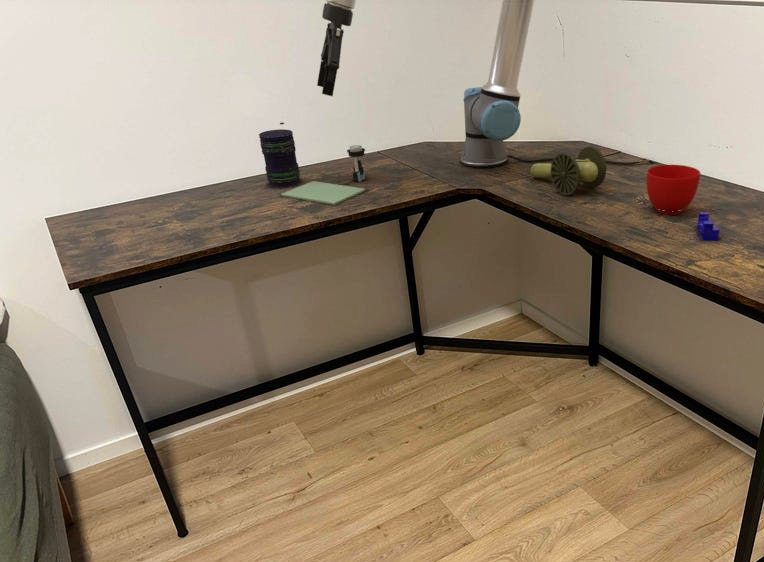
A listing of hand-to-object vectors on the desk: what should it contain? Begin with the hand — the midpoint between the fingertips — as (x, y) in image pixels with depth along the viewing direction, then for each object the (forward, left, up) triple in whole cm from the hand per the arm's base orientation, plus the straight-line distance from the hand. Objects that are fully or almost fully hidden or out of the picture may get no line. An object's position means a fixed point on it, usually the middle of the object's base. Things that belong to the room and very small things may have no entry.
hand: (324, 90), depth 184 cm
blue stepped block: (-104, -9, -28) cm, 108 cm away
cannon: (-58, -30, -28) cm, 71 cm away
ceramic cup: (-91, -24, -28) cm, 99 cm away
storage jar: (+21, +1, -28) cm, 35 cm away
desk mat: (+3, +4, -28) cm, 28 cm away
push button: (+2, -12, -28) cm, 30 cm away
